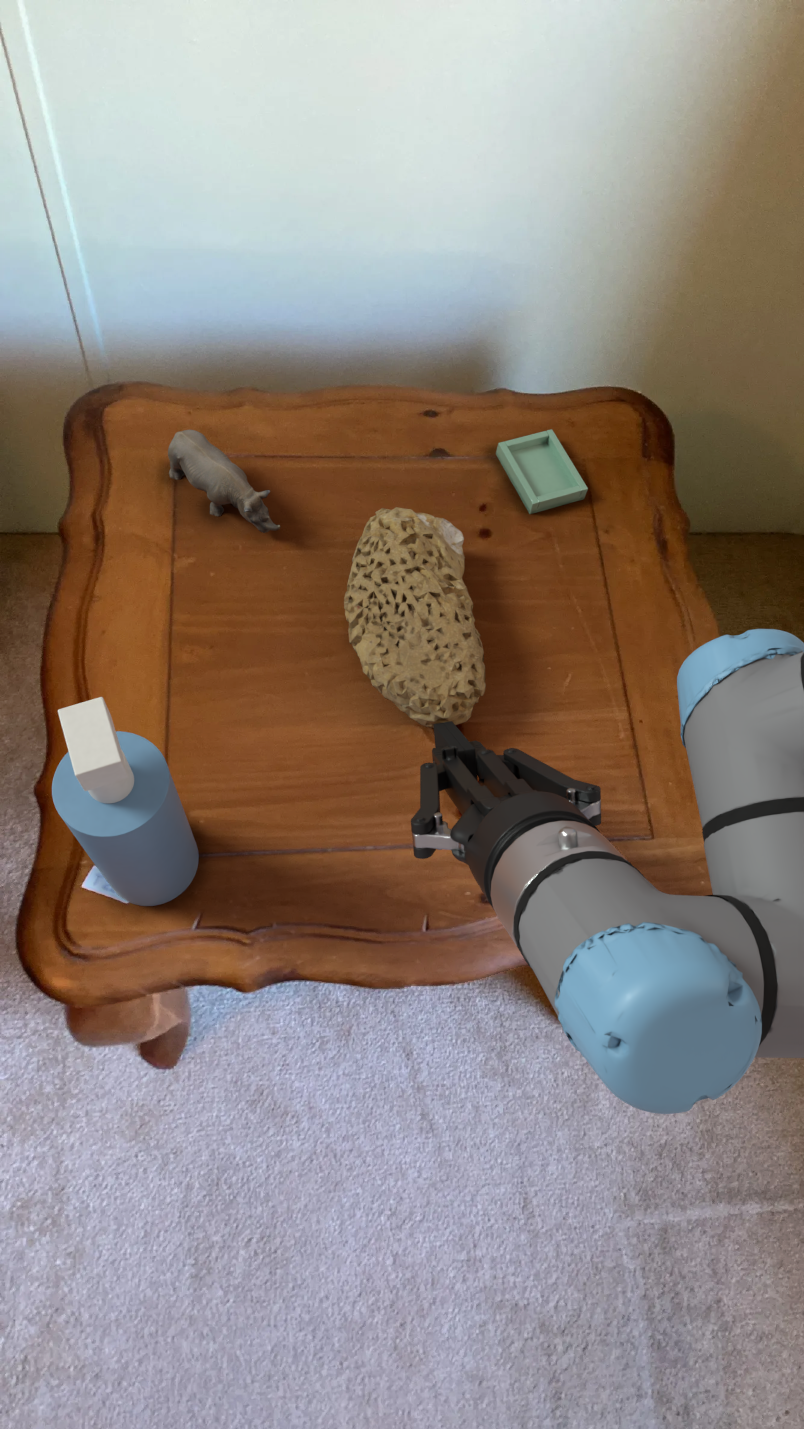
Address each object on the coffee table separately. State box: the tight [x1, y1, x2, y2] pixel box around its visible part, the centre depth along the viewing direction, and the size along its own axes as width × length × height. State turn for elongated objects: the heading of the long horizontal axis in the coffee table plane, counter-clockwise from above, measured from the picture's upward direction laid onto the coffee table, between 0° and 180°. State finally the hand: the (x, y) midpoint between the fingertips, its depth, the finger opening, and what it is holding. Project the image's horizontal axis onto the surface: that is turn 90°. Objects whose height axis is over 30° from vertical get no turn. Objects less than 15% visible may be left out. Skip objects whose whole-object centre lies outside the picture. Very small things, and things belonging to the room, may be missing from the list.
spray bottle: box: [51, 696, 200, 907], centre depth 61 cm, size 7×7×21 cm
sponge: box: [343, 506, 487, 729], centre depth 79 cm, size 13×8×20 cm
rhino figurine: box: [167, 429, 281, 534], centre depth 84 cm, size 4×14×6 cm, turn 48°
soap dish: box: [495, 428, 589, 515], centre depth 90 cm, size 8×6×2 cm
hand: (443, 738), depth 74 cm, fingers closed
